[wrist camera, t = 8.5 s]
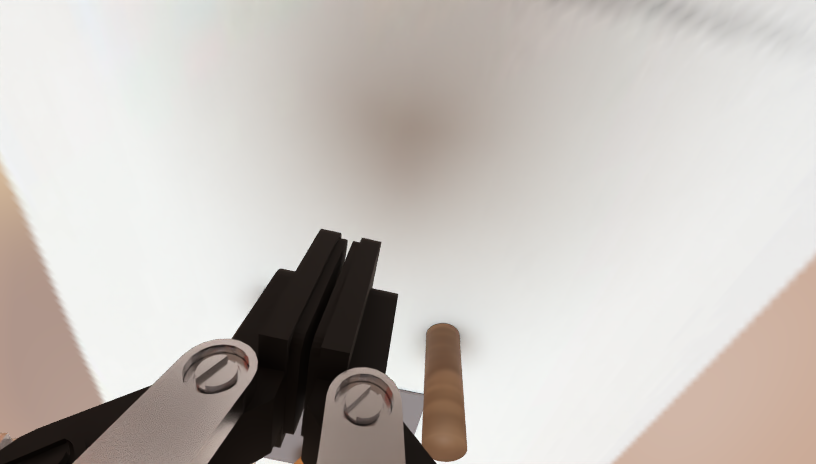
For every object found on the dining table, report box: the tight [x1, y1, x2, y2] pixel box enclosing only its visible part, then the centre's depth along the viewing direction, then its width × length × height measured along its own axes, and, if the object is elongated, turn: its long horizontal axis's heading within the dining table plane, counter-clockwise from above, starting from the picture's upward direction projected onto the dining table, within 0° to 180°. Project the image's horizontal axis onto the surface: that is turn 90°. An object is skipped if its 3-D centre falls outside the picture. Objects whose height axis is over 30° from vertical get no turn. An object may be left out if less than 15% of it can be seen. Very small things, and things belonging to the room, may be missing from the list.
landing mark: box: [264, 389, 424, 464], centre depth 36 cm, size 14×14×1 cm
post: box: [422, 323, 467, 462], centre depth 25 cm, size 3×3×9 cm
